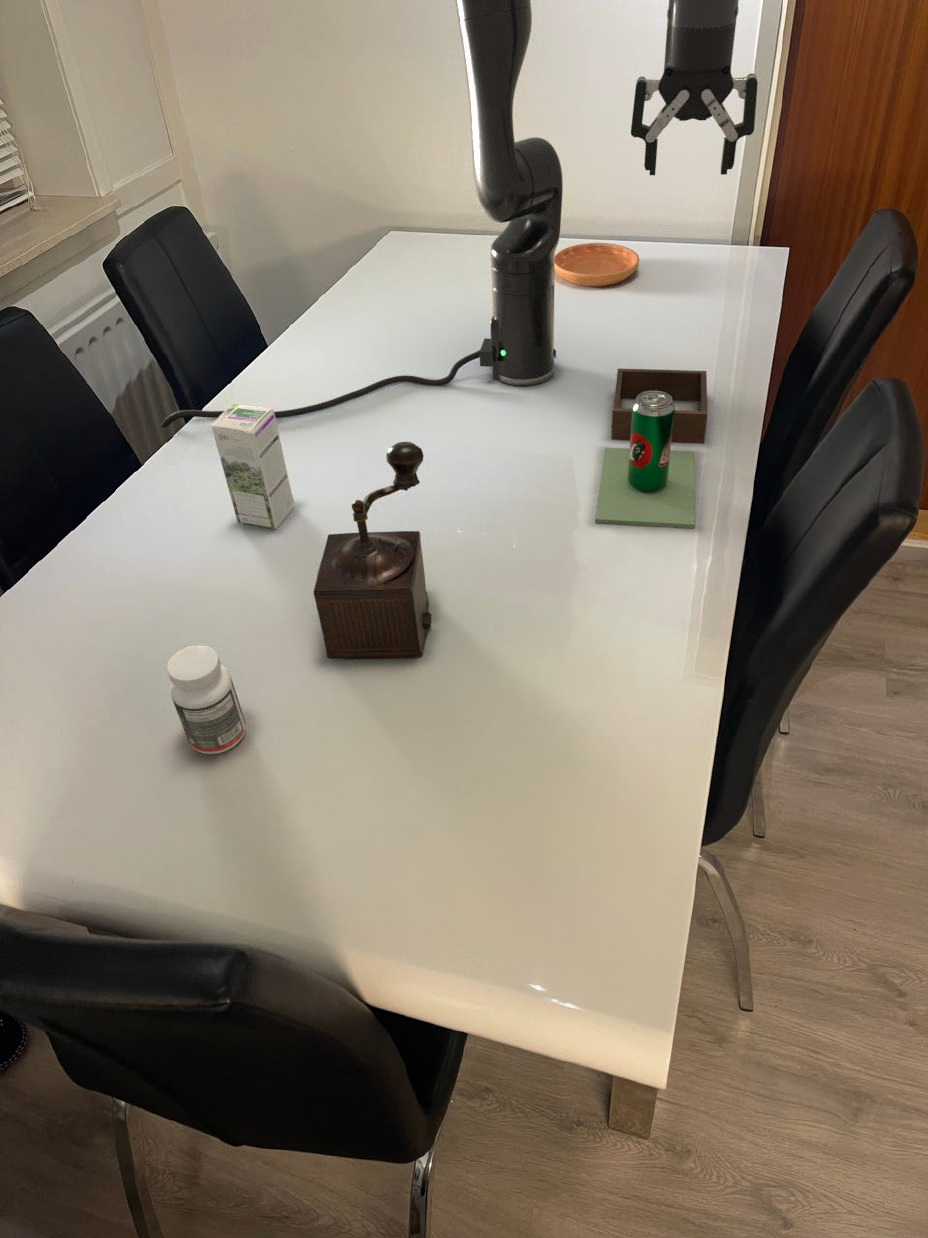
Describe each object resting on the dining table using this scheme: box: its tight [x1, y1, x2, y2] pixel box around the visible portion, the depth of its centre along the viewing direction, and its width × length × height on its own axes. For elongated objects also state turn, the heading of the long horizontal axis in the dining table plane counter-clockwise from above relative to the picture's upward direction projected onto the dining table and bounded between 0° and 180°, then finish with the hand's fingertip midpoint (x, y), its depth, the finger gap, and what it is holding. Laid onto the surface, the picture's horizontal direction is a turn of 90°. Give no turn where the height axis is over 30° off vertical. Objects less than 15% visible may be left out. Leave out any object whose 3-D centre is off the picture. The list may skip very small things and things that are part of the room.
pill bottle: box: [166, 645, 247, 755], centre depth 89 cm, size 6×6×10 cm
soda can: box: [628, 391, 676, 492], centre depth 116 cm, size 5×5×12 cm
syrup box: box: [211, 403, 296, 530], centre depth 116 cm, size 6×6×14 cm
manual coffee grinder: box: [313, 441, 433, 660], centre depth 99 cm, size 16×11×18 cm
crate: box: [610, 367, 708, 444], centre depth 132 cm, size 13×13×4 cm
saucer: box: [554, 242, 640, 287], centre depth 175 cm, size 16×16×3 cm
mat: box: [594, 447, 696, 529], centre depth 121 cm, size 12×17×1 cm
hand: (687, 173), depth 115 cm, fingers open, 8 cm apart
